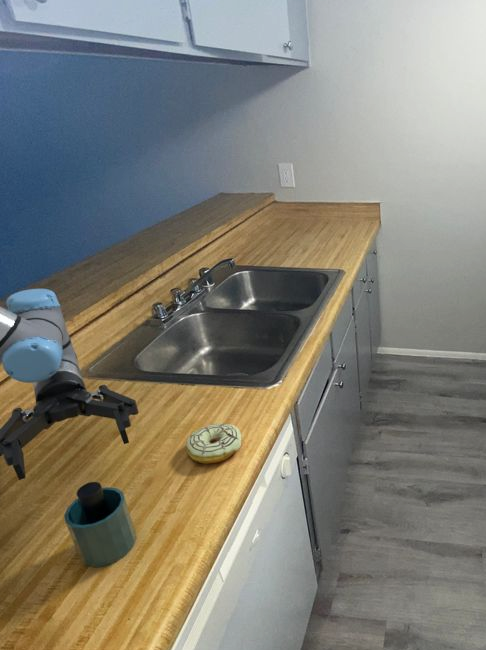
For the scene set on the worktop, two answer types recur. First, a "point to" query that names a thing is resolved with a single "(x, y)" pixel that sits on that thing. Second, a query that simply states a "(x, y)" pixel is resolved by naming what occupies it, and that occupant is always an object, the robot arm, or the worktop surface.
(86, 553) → the cup
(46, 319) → the robot arm
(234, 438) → the decorated donut
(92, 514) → the black cylinder
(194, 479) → the worktop surface
